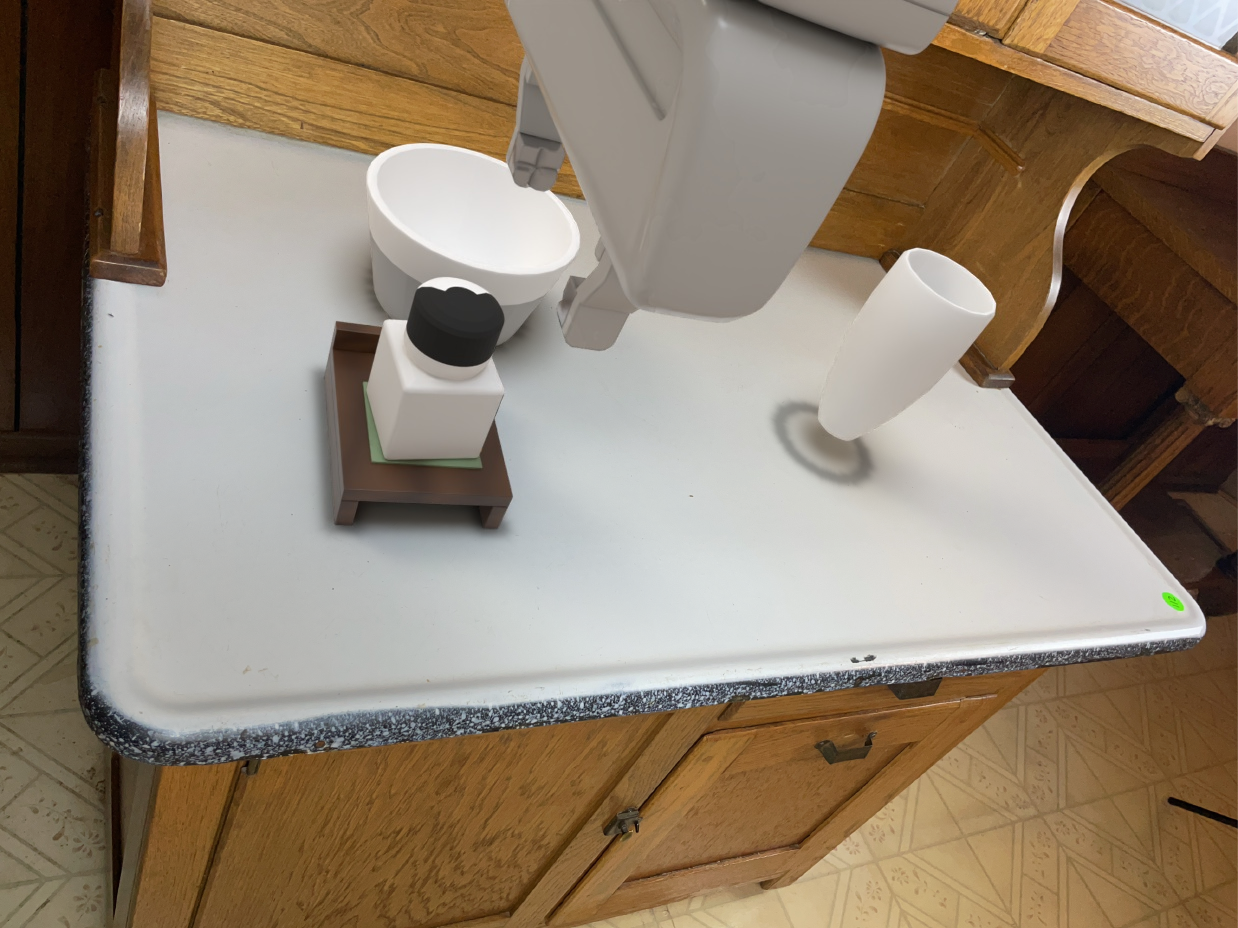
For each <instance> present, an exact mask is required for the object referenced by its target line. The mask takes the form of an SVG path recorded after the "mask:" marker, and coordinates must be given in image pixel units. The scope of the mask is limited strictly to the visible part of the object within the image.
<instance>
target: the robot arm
mask: <svg viewBox="0 0 1238 928" xmlns="http://www.w3.org/2000/svg"><path fill="white" fill-rule="evenodd" d="M959 1H960V0H503V2H504V5H505V7H506V9H507V12H508V15H509V17H510V19H511V22H512V25H513V26H514V29H515V31H516V34H517V37H518V39H519V41H520V43H521V47H522V48H523V51H524V56H523V58H522V62H521V65H520V70H519V81H518V92H517V100H516V101H517V103H516V113H515V127H514V130H513V133H512V136H511V139H510V141H509V146H508V148H507V151H506V154H505V163H507V164H508V167H509V169H510V172H511V175H512V177H513V180H514V183H515V184H516V185H518V186H519V187H523V188H528V187H531V188H533V189H534V190H537V191H543V192H545V191H547V190H550V191H551V189H552V188H554V186H555V184H556V183H557V179H558V173H559V172H560V171H561V169H562V166H563V164H564V160H565V158H566V156H567V159H568V160H569V163H570V166H571V168H572V170H573V173H574V175H575V177H576V180H577V182H578V185H579V188H580V189H581V192H582V194H583V197H584V199H585V203H586V204H587V206H588V207H587V208H588V209H589V211H590V214H591V217H592V219H593V221H594V224H595V226H596V228H597V231H598V233H599V238H598V241H597V243H596V246H595V248H594V256H595V258H596V259H595V260H596V261H597V262H598V264H597V265H596V267H595V268H594V269H593V270H592V271H591V272H590V273H589V275H588V276H586V277H582V276H576V275H569V278H568V280H567V281H566V285H565V286H564V288H563V289H564V290H563V292H562V298H561V300H560V301H559V302H557V306H556V309H555V310H556V315H557V318H558V322H559V325H560V328H561V332H562V336H563V338H564V341H565V343H566V344H567V346H569V347H570V348H574V349H582V350H590V351H595V352H597V351H598V352H601V351H606V350H608V349H610V348H612V347H613V346H614V345H615V344H616V342H617V340H618V338H619V336H620V334H621V332H622V330H623V328H624V326H625V324H626V322H627V320H628V318H629V316H630V315H631V314H635V312H637V311H638V310H640V311H645V312H648V313H653V314H657V315H658V314H659V315H664V316H668V317H669V316H670V317H675V318H680V319H687V320H695V321H702V322H708V323H715V324H728V323H731V322H735V321H739V320H740V319H743V318H745V317H748V316H751V315H753V314H755V313H757V312H759V310H761V309H763V308H764V307H765V306H766V305H767V304H768V303H769V302H770V301H771V300H772V298H773V297H774V296H775V294H776V293H777V292H778V290H780V288H781V286H782V285H783V283H784V282H785V280H786V279H787V278H788V276H789V275H790V273H791V272H792V270H793V269H794V267H795V266H796V265H797V263H798V262H799V260H800V258H801V257H802V255H803V254H804V252H805V250H806V249H807V247H808V246H809V244H810V243H811V241H812V240H813V238H814V237H815V235H816V234H817V232H818V230H819V229H820V227H821V225H823V222H824V221H825V219H826V218H827V216H828V214H829V212H830V211H831V209H832V208H833V205H834V204H835V202H836V200H837V199H838V197H839V196H840V194H841V192H842V190H843V188H844V187H845V185H846V184H847V182H848V180H849V178H850V177H851V175H852V174H853V171H854V170H855V168H856V167H857V166H856V165H857V164H858V162H859V161H860V159H861V157H862V156H863V154H864V152H865V149H866V148H867V145H868V143H869V142H870V139H871V137H872V135H873V132H874V130H875V128H876V126H877V122H878V119H879V117H880V113H881V110H882V108H883V104H884V98H885V93H886V83H887V72H886V64H885V58H884V55H883V52H882V49H881V48H884V49H888V50H891V51H895V52H897V53H901V54H903V55H907V56H908V55H909V56H913V55H917V54H920V53H921V52H923V51H924V50H925V49H927V48H928V46H930V44H931V43H932V42H933V41H934V40H935V39H936V38H937V37H938V35H939V34H940V32H941V31H942V30H943V28H944V27H945V25H946V23H947V22H948V20H949V18H950V15H952V13H953V12H954V11H955V8H956V7H957V5H958V4H959ZM880 47H881V48H880Z"/></svg>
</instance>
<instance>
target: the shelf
mask: <svg viewBox="0 0 1238 928" xmlns="http://www.w3.org/2000/svg"><path fill="white" fill-rule="evenodd" d="M381 330H382V326H378V325H371V324H362V323H356V322H355V323H354V322H347V321H339V320H336V321H335V322H334V328H333V332H332V337H331V342H330V347H329V353H328V356H327V362H326V366H325V371H324V376H323V380H324V395H325V406H326V407H325V410H326V423H327V424H326V425H327V437H328V449H329V450H328V451H329V466H330V479H331V492H332V493H331V494H332V506H333V508H332V509H333V519H334V525H335V526H353V525H354V524H353V523H354V520H355V517H356V513H357V509H358V506H359V503H360V502H375V503H376V502H377V503H378V502H380V503H403V504H404V503H405V504H430V505H456V506H478V510H479V514H480V515H479V516H480V519H481V524H482V528H483V529H485V530H499V528H500V525H501V523H502V521H503V519H504V517H505V515H506V513H507V511H508V508H509V507H510V504H511V502H512V500H513V498H514V495H513V490H512V486H511V481H510V478H509V474H508V469H507V466H506V461H505V456H504V452H503V449H502V444H501V440H500V435H499V431H498V427H497V422H496V418H495V419H494V421H493V424H492V426H491V429H490V431H489V433H488V436H487V438H486V441H485V443H484V446H483V448H482V451H481V453H480V455H479V456H478V458H458V459H408V460H387V459H385V458H384V455H383V451H382V448H381V444H380V440H379V436H378V433H377V429H376V425H375V421H374V418H373V414H372V410H371V406H370V403H369V399H368V395H367V391H366V390H367V385H368V381H369V377H370V373H371V369H372V366H373V362H374V358H375V354H376V350H377V346H378V342H379V338H380V334H381Z"/></svg>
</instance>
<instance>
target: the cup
mask: <svg viewBox="0 0 1238 928" xmlns="http://www.w3.org/2000/svg"><path fill="white" fill-rule="evenodd" d="M895 261H896V262H895V263H894V264H893V265H892V267H891V268H890V269H889V270H888V271H887V273H886V274H885V275H884V276H883V278H882V279H881V281H880V282H879V283H878V284H877V285H876V287H875V288H874V290H872V292H871V293H870V295H869V297H868V298H867V299H866V301H865V302H864V304H863V306H862V307H861V308H860V310H859V312H858V313H857V315H856V316H855V318H854V320H853V321H852V322H851V324H850V326H849V327H848V329H847V330H846V333H845V335H844V337H843V339H842V341H841V343H840V346H839V348H838V351H837V352H836V354H835V357H834V359H833V362H832V364H831V365H830V368H829V370H828V373H827V375H826V378H825V382H824V384H823V385H824V386H823V389H822V392H821V396H820V398H819V404H818V409H817V419H818V422H819V423H820V425H821V426H822V428H823V429H824V430H825V431H826V432H827V433H828V434H830V435H831V436H833V437H834V438H836V439H838V440H842V441H853V440H855V439H857V438H860V437H862V436H864V435H866V434H868V433H871V432H873V431H874V430H875V429H877V428H879V427H880V426H882V425H884V424H886V423H887V422H889V421H891V420H893V419H894V418H896V417H897V416H899V415H901V413H902V412H904V411H905V410H907V409H908V408H909V407H910V406H912V405H913V404H914V403H916V402H917V401H918V400H920V399H921V398H922V397H923V396H925V395H926V394H927V393H929V392H930V391H931V390H932V389H933V388H934V387H935V386H936V385H937V383H939V382H940V380H942V379H943V377H944V376H945V375H946V374H947V373H948V372H949V371H950V370H951V369H952V368H953V367H954V366H955V365H956V364H957V363H958V362H959V360H961V359H962V358H963V356H964V355H965V353H967V351H968V350H969V348H970V347H971V346H972V345H973V344H974V342H975V341H976V340H977V339H978V337H979V336H980V335H981V334H982V332H983V331H984V330H985V328H986V327H987V326H988V325H989V323H990V322H991V321H992V320H993V319H994V317H995V316H996V309H997V308H996V307H997V303H996V300H995V299H994V297H993V295H992V293H991V291H990V290H989V289H988V288H987V287H986V286H985V284H984V283H983V282H982V281H981V280H980V279H979V278H978V277H976V276H975V275H974V274H972V272H970V270H968V269H967V268H966V267H964V266H963V265H961V264H959V263H957V262H956V261H954V260H952V259H951V258H949V257H948V256H945V255H943V254H940V253H939V252H936V251H933V250H931V249H925V248H920V247H915V248H911V249H908V250H907V249H906V250H904V251H903V252H902V253H901V255H900V256H899V258H898V259H896V260H895Z"/></svg>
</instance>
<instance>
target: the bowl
mask: <svg viewBox="0 0 1238 928" xmlns="http://www.w3.org/2000/svg"><path fill="white" fill-rule="evenodd" d="M365 194H366V207H367V222H368V228H369V229H368V230H369V241H370V254H371V255H370V256H371V266H372V267H371V269H372V281H373V282H372V283H373V291H374V293H375V298H376V300H377V301H378V303H379V304H380V306H381V308H382V309H383V310H384V312H385V313H386V314H387V315H388V316H389V317H390V318H391V319H392V320H408V317H409V313H410V310H411V306H412V303H413V299H414V295H415V292H416V290H417V289H418V287H419V286H420V285H422V284H423V283H425V282H427V281H429V280H432V279H435V278H440V277H452V278H458V279H463V280H466V281H469V282H472V283H474V284H476V285H478V286H480V287H482V288H483V289H485V290H486V291H488V292H489V293H490V294H491V295H492V296H493V297H494V298H495V299H496V300H497V301H498V303H499V304H500V306H501V308H502V310H503V313H504V317H505V322H504V326H503V328H502V331H501V334H500V336H499V339H498V342H497V344H496V347H497V346H500V345H502V344H504V343H506V342H507V341H509V340H510V339H511V338H512V337H513V336H514V335H515V334H516V333H517V332H518V330H519V329H520V328H521V326H522V325H523V324H524V323H525V321H526V320H527V319H528V318H529V316H531V314H532V312H533V311H534V310H535V309H536V308H537V307H538V305H539V304H540V303H541V302H542V300H543V299H544V298H545V297H546V295H547V294H548V293H549V292H550V290H551V289H552V288H553V287H554V286H555V285H556V283H557V282H558V281H559V280H560V279H561V277H562V276H563V275H564V274H565V272H567V270H568V269H569V268H570V266H571V265H572V264H573V262H575V260H576V258H577V256H578V254H579V252H580V250H581V233H580V230H579V226H578V223H577V222H576V220H575V218H574V216H573V214H572V213H571V211H570V210H569V208H568V207H567V206H566V205H565V203H563V201H562V200H561V199H560V197H559V198H558V197H557V195H556V194H554V193H553V192H552V191H551V189H550V190H547V191H545V192H543V191H537V190H534V189H533V188H531V187H528V188H523V187H519V186H518V185H516V184H515V183H514V180H513V177H512V175H511V172H510V169H509V167H508V164H507V162H506V161H505V162H504V161H502V160H500V159H498V158H496V157H492V156H490V155H487V154H485V153H482V152H479V151H475V150H472V149H468V148H464V147H460V146H454V145H450V144H442V143H429V142H419V143H406V144H402V145H398V146H394V147H391V148H388V149H387V150H384V151H383V152H380V153H379V154H378V155H377V156H376V157H375V158H374V159H373V160H372V161H371V162H370V164H369V166H368V168H367V171H366V172H365Z"/></svg>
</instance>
